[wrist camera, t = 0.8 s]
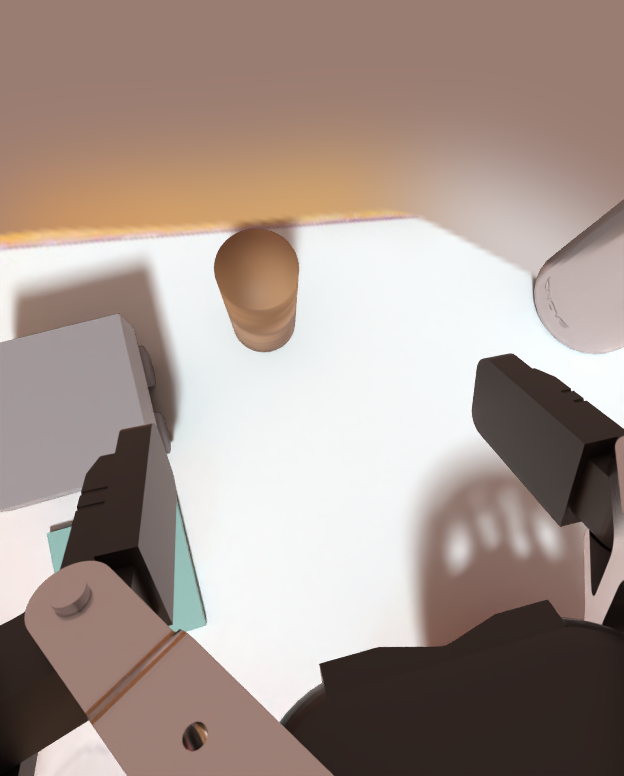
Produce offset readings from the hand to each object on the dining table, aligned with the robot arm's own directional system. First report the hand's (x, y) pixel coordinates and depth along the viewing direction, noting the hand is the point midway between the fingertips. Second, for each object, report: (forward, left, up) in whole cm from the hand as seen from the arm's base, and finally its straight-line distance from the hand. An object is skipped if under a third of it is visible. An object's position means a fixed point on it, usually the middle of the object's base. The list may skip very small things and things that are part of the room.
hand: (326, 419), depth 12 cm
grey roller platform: (+14, -6, -24) cm, 28 cm away
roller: (0, -10, -24) cm, 26 cm away
